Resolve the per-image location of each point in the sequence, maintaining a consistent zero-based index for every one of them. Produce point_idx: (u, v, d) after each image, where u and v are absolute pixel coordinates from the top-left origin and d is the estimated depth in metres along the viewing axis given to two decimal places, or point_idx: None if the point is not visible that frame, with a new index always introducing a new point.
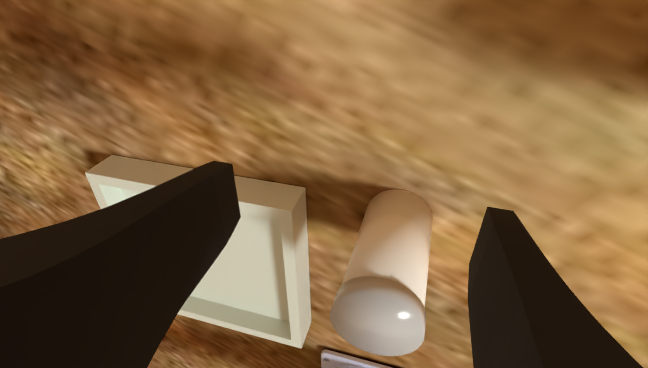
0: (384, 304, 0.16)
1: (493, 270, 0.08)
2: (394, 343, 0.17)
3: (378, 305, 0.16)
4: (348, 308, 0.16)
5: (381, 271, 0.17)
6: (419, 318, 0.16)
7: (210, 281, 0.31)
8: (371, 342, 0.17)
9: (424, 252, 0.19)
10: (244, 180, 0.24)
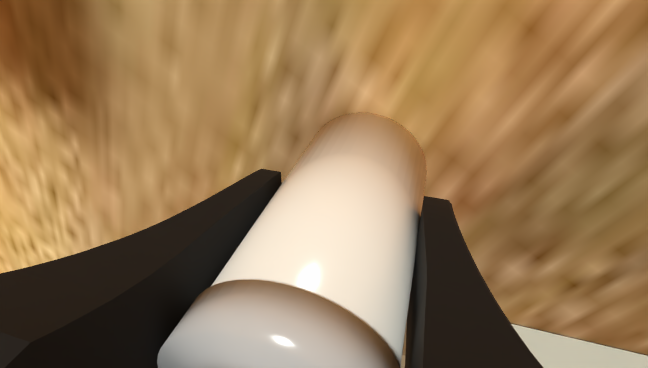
0: None
1: (419, 255, 0.08)
2: None
3: None
4: None
5: None
6: (190, 329, 0.06)
7: None
8: None
9: (291, 184, 0.09)
10: None
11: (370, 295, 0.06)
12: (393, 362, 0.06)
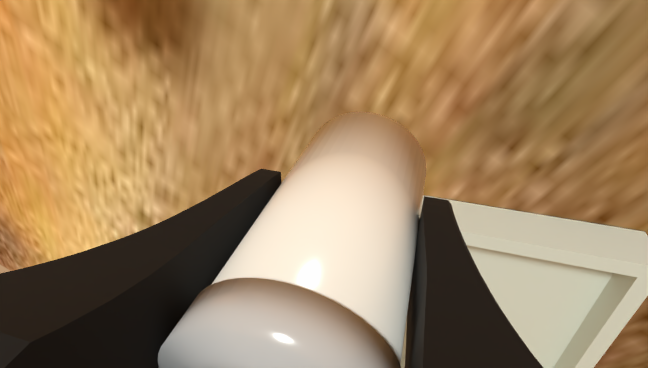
0: None
1: (419, 255, 0.08)
2: None
3: None
4: None
5: None
6: (190, 327, 0.06)
7: (519, 333, 0.23)
8: None
9: (291, 184, 0.09)
10: None
11: (370, 293, 0.06)
12: (393, 360, 0.06)
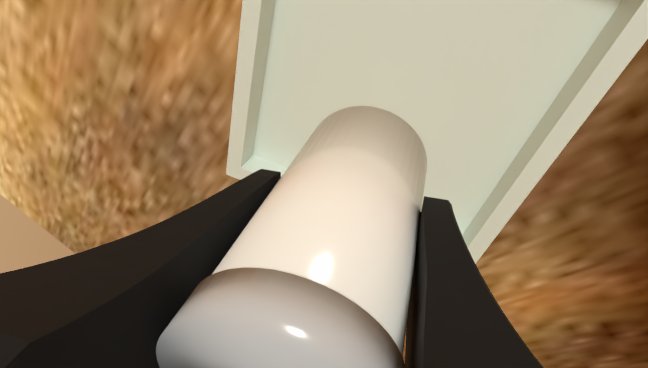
0: None
1: (419, 255, 0.08)
2: None
3: None
4: None
5: None
6: (180, 319, 0.06)
7: (464, 125, 0.17)
8: None
9: (285, 178, 0.09)
10: None
11: (363, 277, 0.06)
12: (389, 343, 0.06)
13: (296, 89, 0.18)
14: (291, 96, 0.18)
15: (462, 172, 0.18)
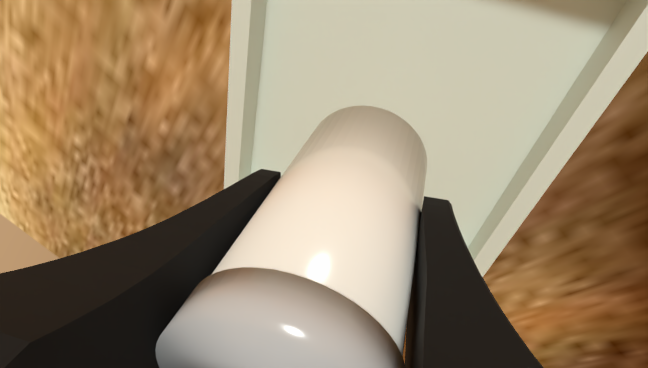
0: None
1: (419, 255, 0.08)
2: None
3: None
4: None
5: None
6: (181, 319, 0.06)
7: (458, 150, 0.17)
8: None
9: (285, 178, 0.09)
10: None
11: (364, 277, 0.06)
12: (389, 343, 0.06)
13: (288, 117, 0.18)
14: (284, 124, 0.19)
15: (458, 195, 0.18)
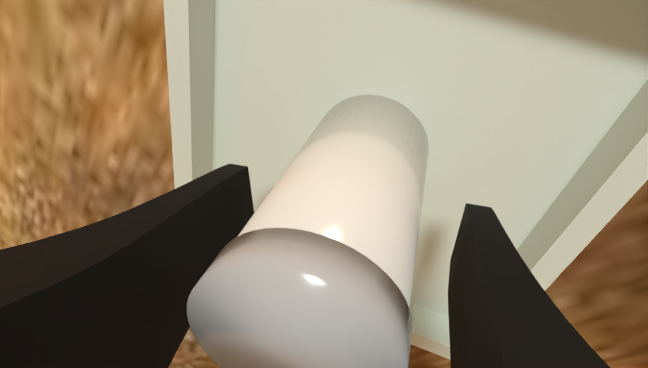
0: (207, 325, 0.07)
1: (467, 265, 0.08)
2: (332, 330, 0.06)
3: (219, 336, 0.07)
4: None
5: None
6: (213, 271, 0.06)
7: (457, 204, 0.13)
8: None
9: (298, 158, 0.10)
10: None
11: (374, 238, 0.07)
12: (398, 294, 0.06)
13: (251, 159, 0.15)
14: None
15: None
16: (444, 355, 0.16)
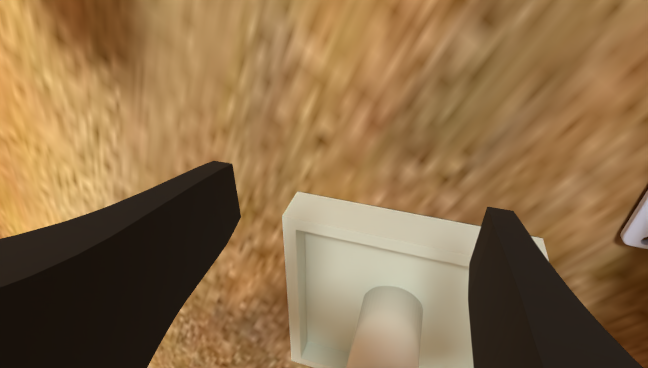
0: None
1: (493, 270, 0.08)
2: None
3: None
4: None
5: None
6: None
7: (444, 330, 0.25)
8: None
9: (360, 339, 0.21)
10: None
11: None
12: None
13: (328, 310, 0.27)
14: (326, 313, 0.28)
15: (452, 353, 0.26)
16: None
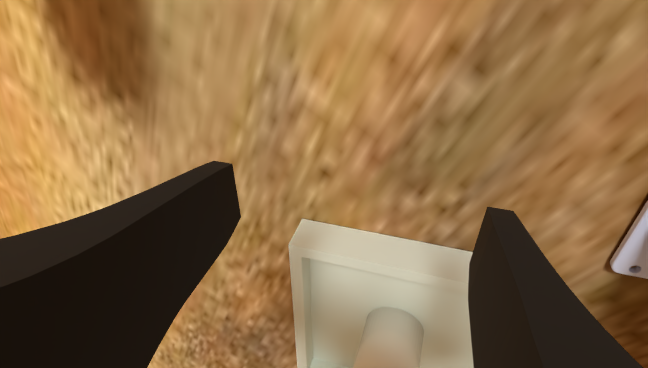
0: None
1: (493, 270, 0.08)
2: None
3: None
4: None
5: None
6: None
7: (444, 348, 0.26)
8: None
9: (362, 359, 0.23)
10: None
11: None
12: None
13: (333, 328, 0.28)
14: (331, 332, 0.29)
15: None
16: None
